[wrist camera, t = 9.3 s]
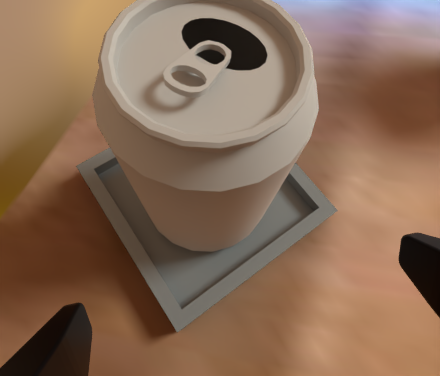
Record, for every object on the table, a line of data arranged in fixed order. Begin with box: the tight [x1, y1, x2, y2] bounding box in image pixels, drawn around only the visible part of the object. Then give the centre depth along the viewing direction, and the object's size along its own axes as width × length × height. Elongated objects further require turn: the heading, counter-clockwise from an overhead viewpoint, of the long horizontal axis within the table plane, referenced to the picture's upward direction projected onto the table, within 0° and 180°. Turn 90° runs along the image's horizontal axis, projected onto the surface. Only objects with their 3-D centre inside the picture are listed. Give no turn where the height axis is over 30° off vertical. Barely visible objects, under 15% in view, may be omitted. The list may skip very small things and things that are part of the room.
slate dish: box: [76, 148, 338, 333], centre depth 20 cm, size 12×12×2 cm
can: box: [92, 0, 319, 252], centre depth 14 cm, size 8×8×12 cm
